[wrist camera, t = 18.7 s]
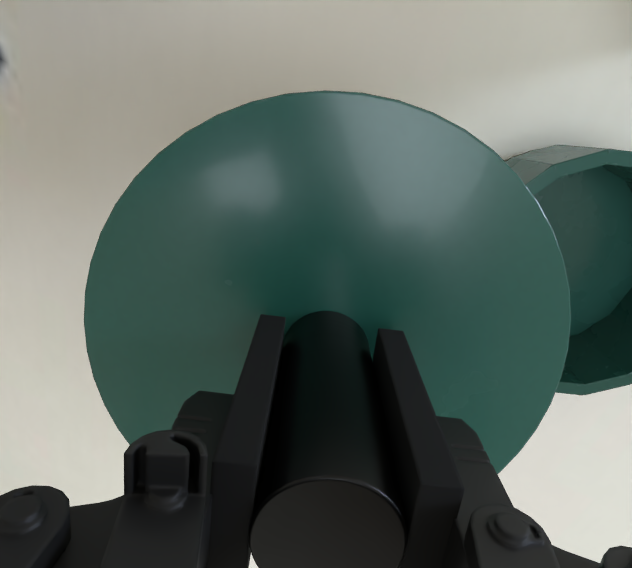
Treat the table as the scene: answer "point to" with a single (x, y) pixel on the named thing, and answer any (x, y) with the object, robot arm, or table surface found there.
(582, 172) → the pot
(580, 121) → the table surface
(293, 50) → the table surface
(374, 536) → the lid
